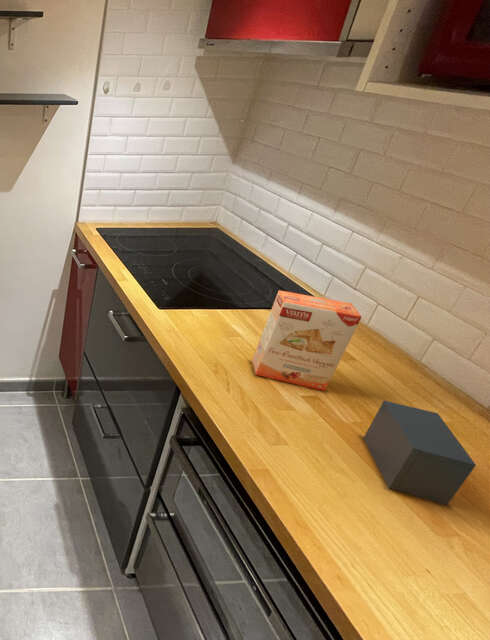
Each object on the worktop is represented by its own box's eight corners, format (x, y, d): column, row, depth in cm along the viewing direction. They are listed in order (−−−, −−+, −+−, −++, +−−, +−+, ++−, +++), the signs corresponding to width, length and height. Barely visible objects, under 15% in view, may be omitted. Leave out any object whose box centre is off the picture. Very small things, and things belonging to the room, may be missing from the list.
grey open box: (414, 451, 86) (438, 413, 82) (447, 505, 76) (476, 465, 72) (363, 437, 89) (383, 400, 85) (388, 488, 79) (413, 448, 75)
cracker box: (255, 376, 105) (284, 301, 96) (250, 361, 110) (277, 288, 102) (326, 393, 100) (363, 315, 92) (318, 376, 106) (352, 301, 97)
